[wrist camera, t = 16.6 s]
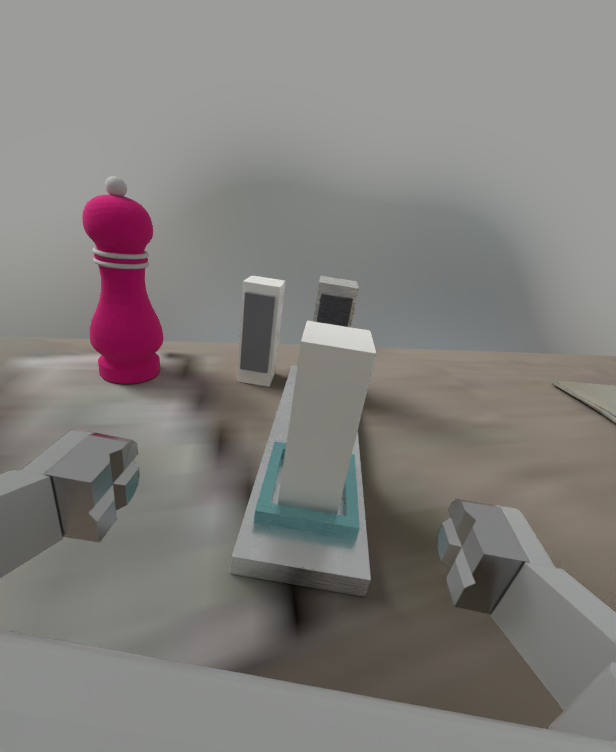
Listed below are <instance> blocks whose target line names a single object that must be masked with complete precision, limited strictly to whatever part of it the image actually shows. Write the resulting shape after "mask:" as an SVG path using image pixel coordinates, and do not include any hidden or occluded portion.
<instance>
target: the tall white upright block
mask: <svg viewBox="0 0 616 752" xmlns="http://www.w3.org/2000/svg"><path fill="white" fill-rule="evenodd" d="M375 357H376V350H375V347H374V343H373V340H372V336H371V332H370V331H369V330H362V329H356V328H350V327H344V326H338V325H332V324H326V323H319V322H313V321H307V323H306V326H305V330H304V333H303V336H302V340H301V345H300V352H299V359H298V366H297V373H296V380H295V387H294V394H293V401H292V408H291V415H290V422H289V429H288V436H287V443H286V450H285V457H284V464H283V471H282V478H281V485H280V492H279V499H278V505H284V506H290V507H296V508H302V509H308V510H313V511H319V512H325V513H331V514H337V513H338V509H339V505H340V501H341V497H342V492H343V488H344V484H345V480H346V476H347V472H348V468H349V464H350V460H351V456H352V451H353V447H354V443H355V439H356V435H357V431H358V427H359V423H360V419H361V415H362V410H363V406H364V402H365V398H366V394H367V390H368V386H369V382H370V378H371V374H372V370H373V365H374V361H375Z"/></svg>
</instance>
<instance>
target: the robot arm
mask: <svg viewBox="0 0 616 752" xmlns="http://www.w3.org/2000/svg"><path fill="white" fill-rule="evenodd" d="M137 455H138V449H137V443H136V442H134V441H133V440H128V439H123V438H118V437H113V436H109V435H104V434H99V433H92V432H87V431H82V430H77V429H75V430H71V431H69V432H67V433H66V434H65V435H64V436H62V437H61V438H60V439H59V440H57V441H56V442H55V443H54V444H52V445H51V446H50V447H49V448H47V449H46V450H45V451H44V452H43V453H41V454H40V455H39V456H38V457H36V458H35V459H34V460H33V461H31V462H30V463H29V464H28V465H26V466H25V467H24V468H23V469H21V470H20V471H17V470H11V471H8V472H5V473H2V474H0V578H1V577H3V576H4V575H6V574H7V573H9V572H11V571H12V570H14V569H15V568H17V567H19V566H20V565H22V564H23V563H25V562H27V561H28V560H30V559H31V558H33V557H35V556H36V555H38V554H39V553H41V552H42V551H44V550H46V549H47V548H49V547H50V546H52V545H54V544H55V543H57V542H58V541H60V540H62V539H63V537H69V538H75V539H82V540H89V541H95V542H100V541H101V540H102V538H103V537H104V536H105V534H106V533H107V532H108V530H109V529H110V528H111V526H112V525H113V523H114V522H115V521H116V519H117V518H116V510H118V509H120V508H122V507H124V506H126V505H127V504H128V503H129V501H130V500H131V498H132V497H133V495H134V493H135V490H136V488H137V485H138V480H139V467H138V466H137V465H136V463H135V462H134V461H133V459H134V458H135V457H136V456H137ZM448 511H449V513H450V516H451V518H449V519H448V520H446V521H444V522H443V523H442V525H441V527H440V530H439V533H438V543H437V544H438V553H439V556H440V560H441V562H442V563H443V564H444V566H445V567H446V568H447V569H448V570H449V571H450V572H449V574H448V576H447V578H446V581H447V584H448V587H449V591H450V594H451V597H452V601H453V604H454V607H459V608H463V609H468V610H473V611H477V612H482V613H487V614H491V618H492V619H493V620H494V621H495V623H496V624H497V625H498V627H499V628H500V629H501V630H502V632H503V633H504V634H505V636H506V637H507V638H508V639H509V641H510V642H511V643H512V645H513V646H514V647H515V648H516V650H517V651H518V652H519V654H520V655H521V656H522V657H523V659H524V660H525V661H526V663H527V664H528V665H529V666H530V668H531V669H532V670H533V672H534V673H535V674H536V676H537V677H538V678H539V679H540V681H541V682H542V683H543V685H544V686H545V687H546V688H547V690H548V691H549V692H550V694H551V695H552V696H553V697H554V699H555V700H556V701H557V703H558V704H559V705H560V706H561V708H562V709H563V710H564V711H563V712H562V713H561V714H560V715H559V716H558V717H557V718H556V719H555V720H554V721H553V722H552V723H551V724H550V726H549V728H548V729H544V728H538V727H533V726H527V725H522V724H516V723H511V722H505V721H500V720H495V719H489V718H484V717H478V716H473V715H467V714H462V713H456V712H451V711H445V710H440V709H434V708H429V707H424V706H418V705H413V704H407V703H402V702H396V701H391V700H385V699H380V698H374V697H369V696H364V695H358V694H353V693H347V692H342V691H336V690H331V689H325V688H320V687H315V686H309V685H304V684H298V683H293V682H287V681H282V680H276V679H271V678H265V677H260V676H254V675H249V674H243V673H238V672H232V671H227V670H221V669H216V668H210V667H205V666H199V665H194V664H188V663H183V662H177V661H172V660H166V659H161V658H155V657H150V656H144V655H139V654H133V653H128V652H122V651H117V650H111V649H106V648H100V647H95V646H90V645H84V644H79V643H73V642H68V641H62V640H57V639H51V638H46V637H40V636H35V635H29V634H24V633H18V632H13V631H7V630H2V629H0V752H616V613H615V612H614V611H613V610H612V609H611V608H609V607H608V606H607V605H606V604H604V603H603V602H602V601H601V600H600V599H598V598H597V597H596V596H595V595H593V594H592V593H591V592H590V591H588V590H587V589H586V588H585V587H584V586H582V585H581V584H580V583H579V582H577V581H576V580H575V579H574V578H573V577H571V576H570V575H569V574H568V573H566V572H565V571H564V570H563V569H559V568H555V566H554V564H553V563H552V561H551V560H550V558H549V556H548V555H547V553H546V551H545V550H544V548H543V547H542V545H541V543H540V542H539V540H538V538H537V537H536V535H535V533H534V532H533V530H532V529H531V527H530V525H529V524H528V522H527V520H526V519H525V517H524V515H523V514H522V513H521V512H520V511H519V510H518V509H516V508H510V507H504V506H497V505H496V506H494V505H489V504H483V503H478V502H472V501H466V500H460V499H455V500H454V501H453V502H452V503H451V505H450V507H449V509H448Z"/></svg>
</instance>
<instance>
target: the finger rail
mask: <svg viewBox="0 0 616 752" xmlns="http://www.w3.org/2000/svg"><path fill="white" fill-rule="evenodd" d="M358 290H359V287H358V284H357V282H355V281H350V280H344V279H338V278H330V277H325V276H321V277H320V280H319V285H318V291H317V298H316V305H315V311H314V317H313V322H319V323H326V324H332V325H338V326H344V327H350V328H351V324H352V320H353V314H354V310H355V304H356V300H357V295H358ZM296 373H297V366H293V365H291V369H290V372H289V375H288V378H287V381H286V385H285V388H284V391H283V394H282V397H281V401H280V404H279V407H278V410H277V413H276V416H275V420H274V423H273V426H272V429H271V432H270V436H269V439H268V442H267V445H266V448H265V451H264V455H263V458H262V461H261V464H260V467H259V471H258V474H257V477H256V480H255V483H254V487H253V490H252V493H251V496H250V499H249V502H248V506H247V509H246V512H245V515H244V518H243V522H242V525H241V528H240V531H239V534H238V538H237V541H236V544H235V547H234V550H233V553H232V557H231V571H230V574H235V575H241V576H247V577H252V578H258V579H264V580H270V581H276V582H281V583H287V584H293V585H299V586H305V587H311V588H316V589H322V590H328V591H334V592H340V593H345V594H351V595H357V596H363V597H365V596H366V593H367V590H368V587H369V584H370V581H371V576H370V565H369V553H368V542H367V531H366V519H365V508H364V497H363V486H362V474H361V463H360V452H359V440H358V431H357V435H356V439H355V443H354V447H353V451H352V456H351V460H350V464H349V468H348V472H347V476H346V480H345V484H344V488H343V492H342V497H341V501H340V505H339V509H338V513H337V514H331V513H325V512H319V511H313V510H308V509H302V508H296V507H290V506H284V505H278V499H279V492H280V485H281V478H282V471H283V464H284V457H285V450H286V443H287V436H288V429H289V422H290V415H291V408H292V401H293V394H294V387H295V380H296Z"/></svg>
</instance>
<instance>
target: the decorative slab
mask: <svg viewBox="0 0 616 752" xmlns="http://www.w3.org/2000/svg"><path fill="white" fill-rule="evenodd" d="M552 384H553V385H554V386H556V387H559V388H560V389H562V390H563V391H565V392H567V393H568V394H570V395H572V396H573V397H575V398H577V399H579V400H580V401H582V402H584V403H585V404H587V405H589V406H590V407H592V408H593V409H595V410H596V411H598V412H600V413H601V414H603V415H604V416H605V417H607V418H608V419H610V420H611V421H612V422H614V423H615V424H616V386H613V385H599V384H587V383H578V382H570V381H561V380H553V382H552Z"/></svg>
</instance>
